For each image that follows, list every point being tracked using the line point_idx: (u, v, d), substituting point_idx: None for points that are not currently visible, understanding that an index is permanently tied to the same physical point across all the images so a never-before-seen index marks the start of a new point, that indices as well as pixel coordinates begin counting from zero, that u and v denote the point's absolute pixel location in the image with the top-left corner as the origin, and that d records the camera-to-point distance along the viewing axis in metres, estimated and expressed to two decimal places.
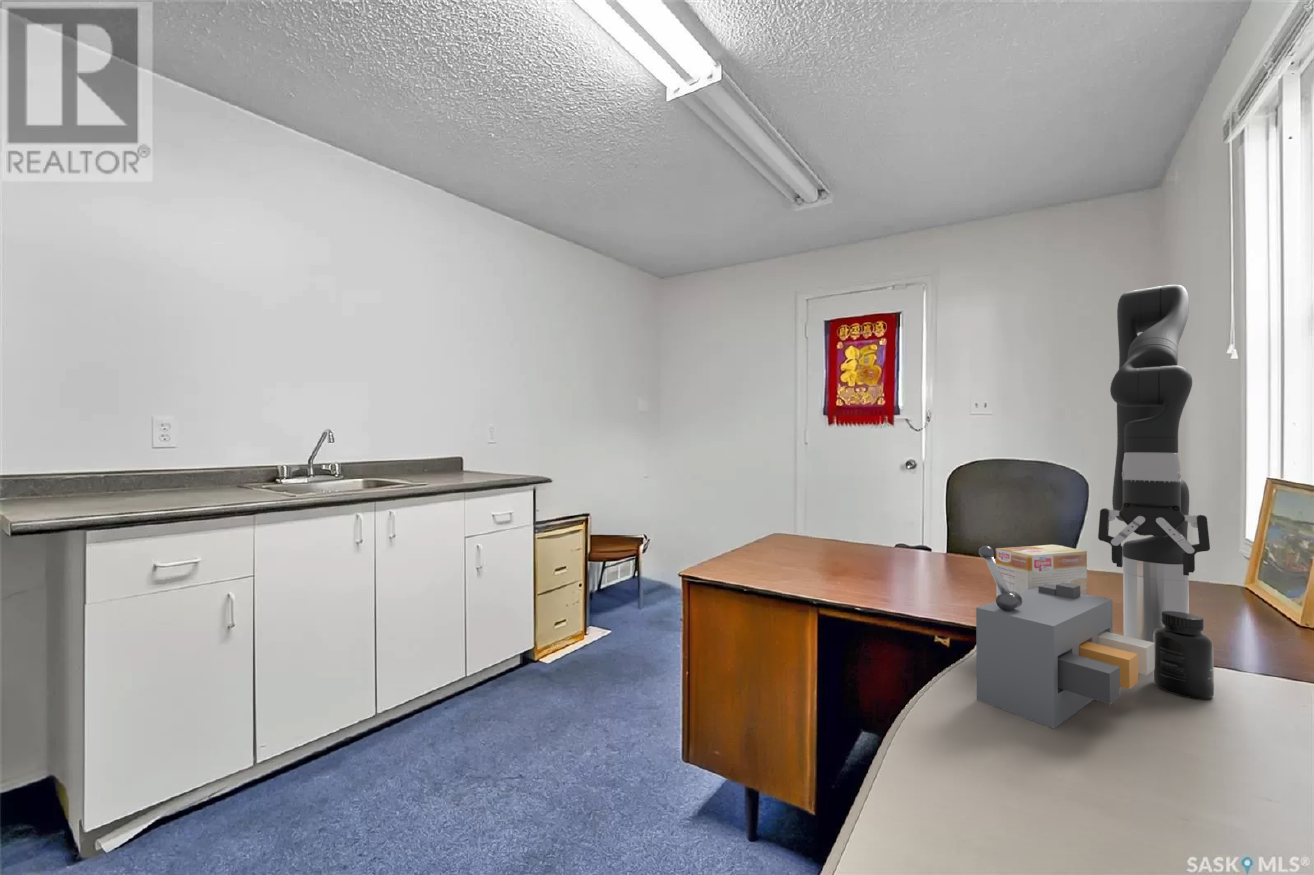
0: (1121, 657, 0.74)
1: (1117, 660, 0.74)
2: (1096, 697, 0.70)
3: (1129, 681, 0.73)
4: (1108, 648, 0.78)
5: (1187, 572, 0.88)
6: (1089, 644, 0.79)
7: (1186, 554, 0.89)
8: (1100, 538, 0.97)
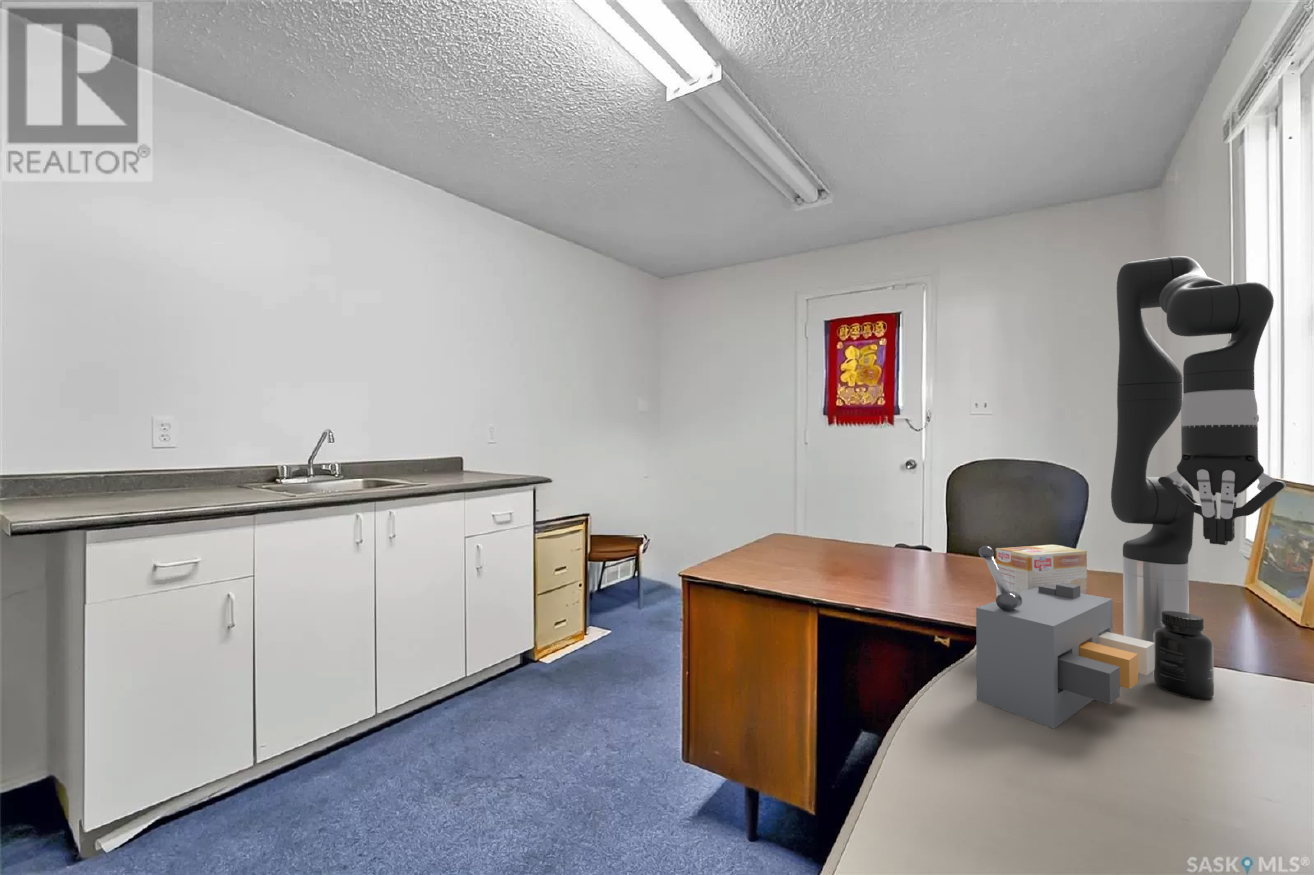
0: (1121, 657, 0.74)
1: (1117, 660, 0.74)
2: (1096, 697, 0.70)
3: (1129, 681, 0.73)
4: (1108, 648, 0.78)
5: None
6: (1089, 644, 0.79)
7: None
8: None
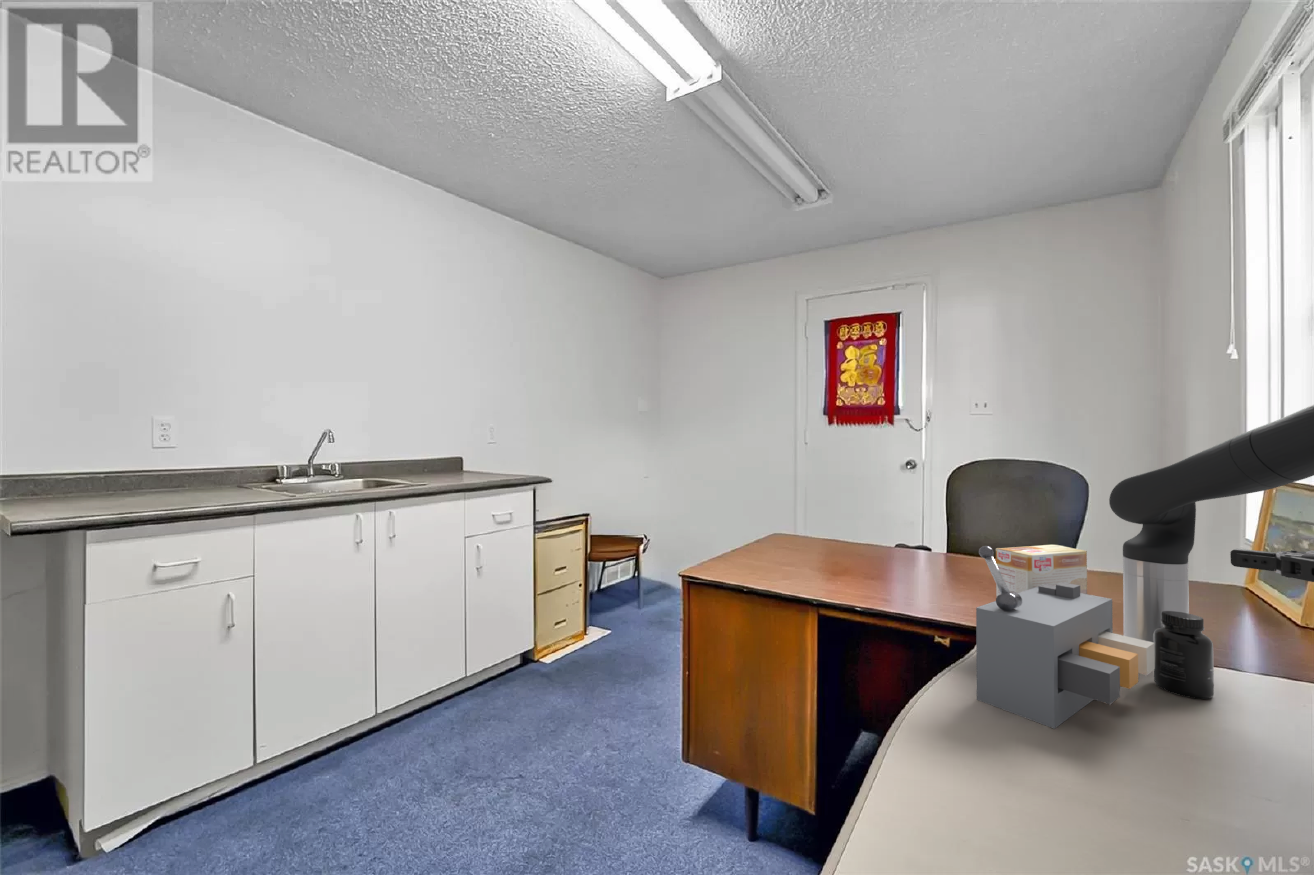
0: (1121, 657, 0.74)
1: (1117, 660, 0.74)
2: (1096, 697, 0.70)
3: (1129, 681, 0.73)
4: (1108, 648, 0.78)
5: (1236, 549, 0.69)
6: (1089, 644, 0.79)
7: None
8: (1290, 551, 0.67)
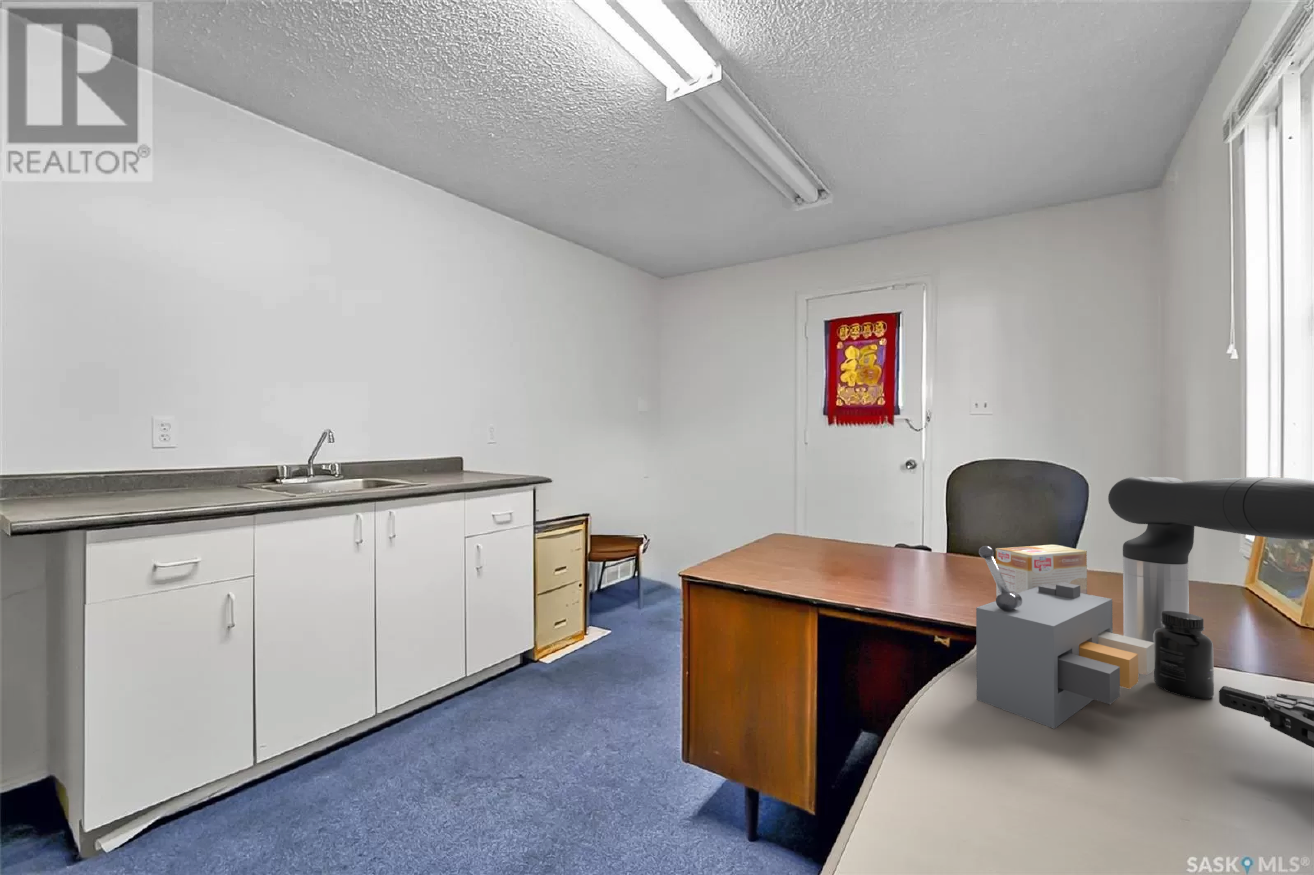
0: (1121, 657, 0.74)
1: (1117, 660, 0.74)
2: (1096, 697, 0.70)
3: (1129, 681, 0.73)
4: (1108, 648, 0.78)
5: (1225, 689, 0.67)
6: (1089, 644, 0.79)
7: None
8: (1280, 694, 0.65)
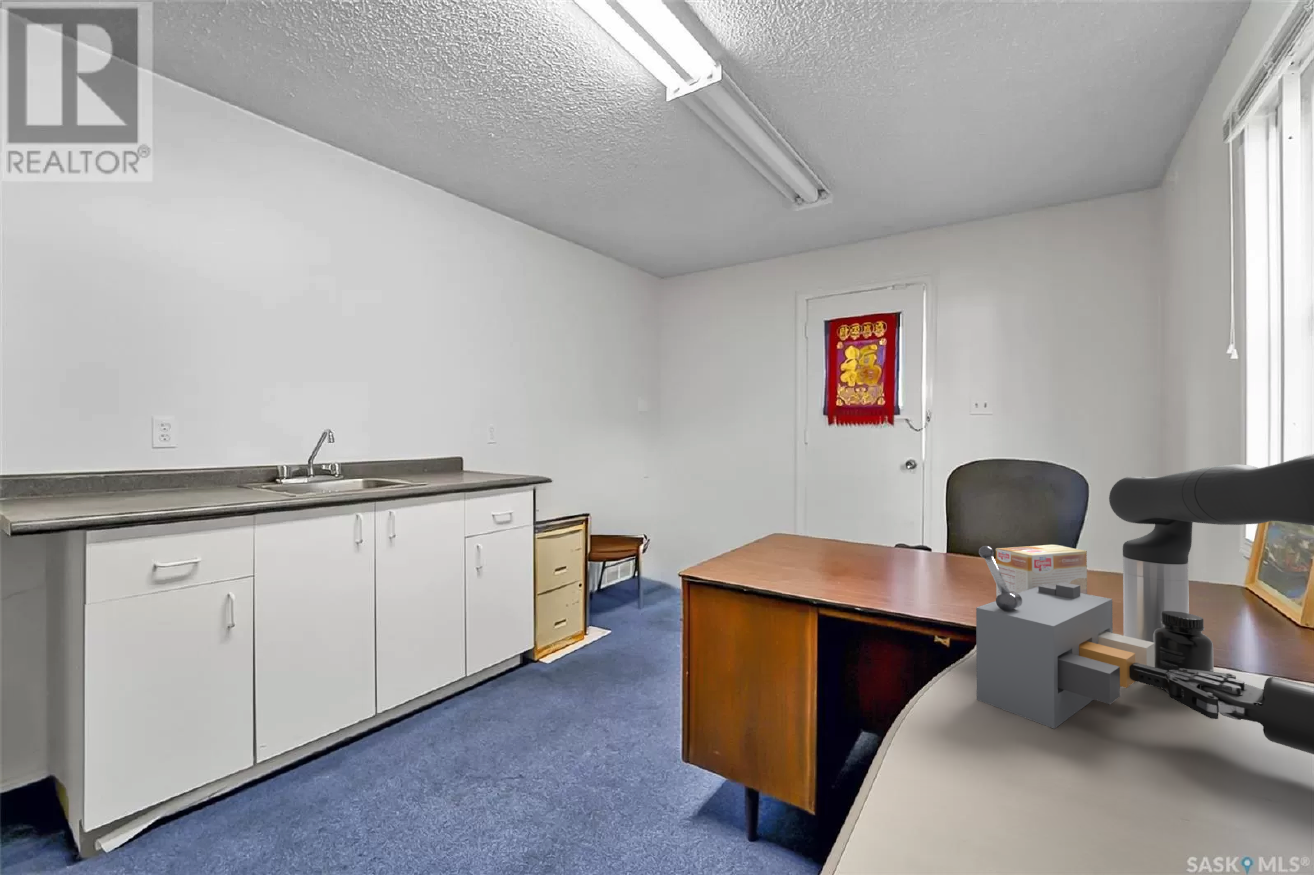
0: (1118, 656, 0.74)
1: (1114, 659, 0.74)
2: (1096, 697, 0.70)
3: (1126, 680, 0.73)
4: (1105, 647, 0.78)
5: (1135, 665, 0.74)
6: (1086, 643, 0.79)
7: (1164, 673, 0.71)
8: (1182, 669, 0.72)
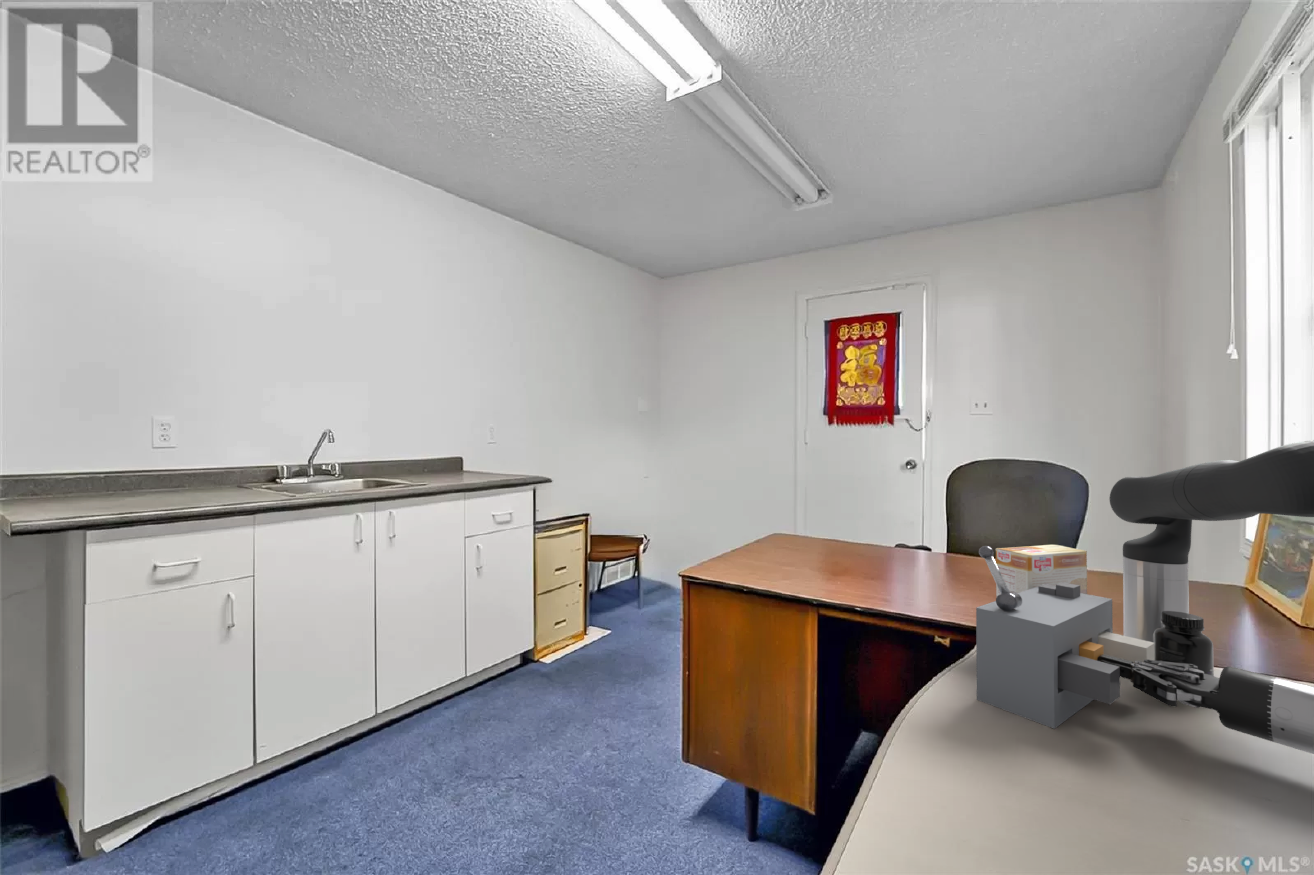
0: (1086, 648, 0.77)
1: (1082, 651, 0.77)
2: (1096, 697, 0.70)
3: None
4: None
5: (1102, 656, 0.77)
6: None
7: None
8: (1146, 660, 0.75)
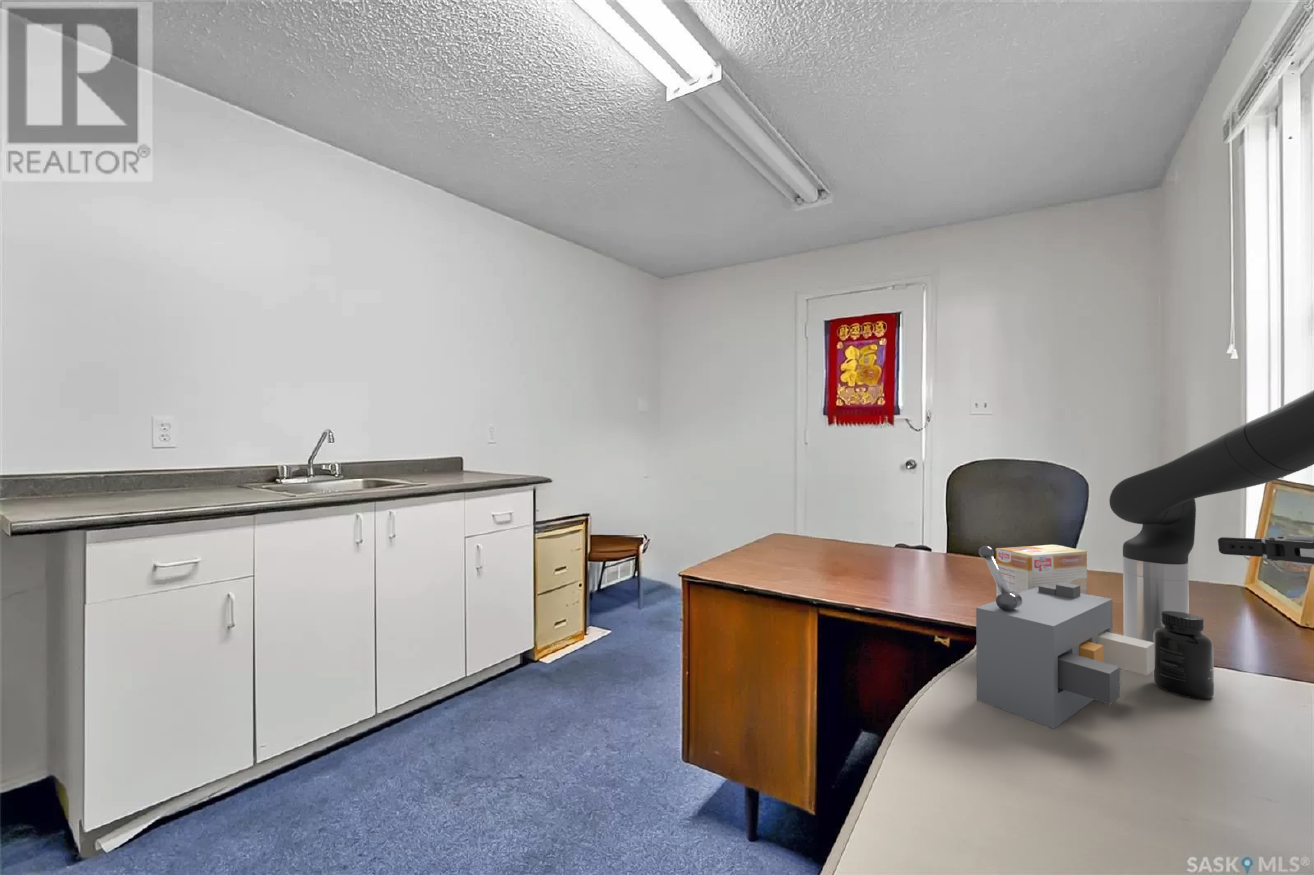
0: (1086, 648, 0.77)
1: (1082, 651, 0.77)
2: (1096, 697, 0.70)
3: None
4: None
5: (1224, 537, 0.69)
6: None
7: (1258, 539, 0.67)
8: None
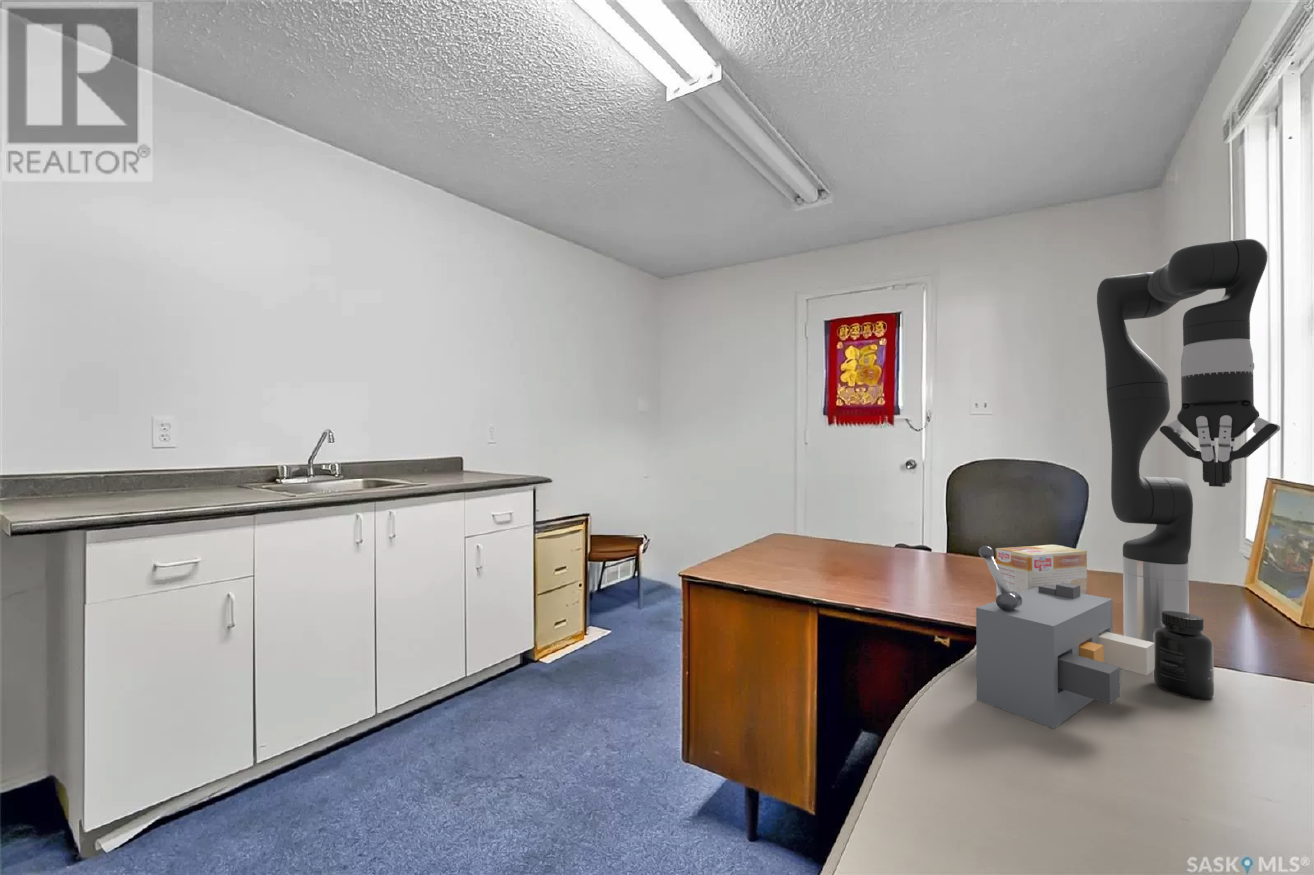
0: (1086, 648, 0.77)
1: (1082, 651, 0.77)
2: (1096, 697, 0.70)
3: None
4: None
5: None
6: None
7: None
8: None
